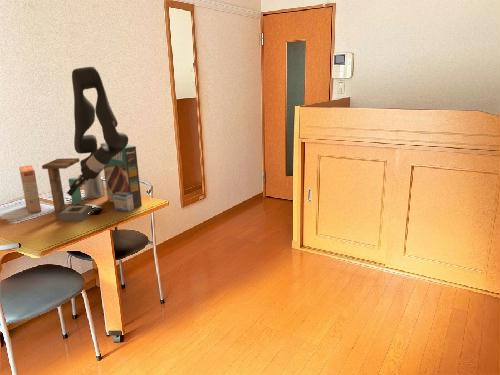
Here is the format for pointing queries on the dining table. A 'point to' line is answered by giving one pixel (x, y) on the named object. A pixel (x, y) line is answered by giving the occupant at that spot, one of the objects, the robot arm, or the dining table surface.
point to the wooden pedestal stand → (58, 181)
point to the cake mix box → (123, 175)
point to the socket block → (75, 213)
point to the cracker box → (30, 189)
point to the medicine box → (123, 201)
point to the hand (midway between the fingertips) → (71, 192)
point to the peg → (75, 193)
